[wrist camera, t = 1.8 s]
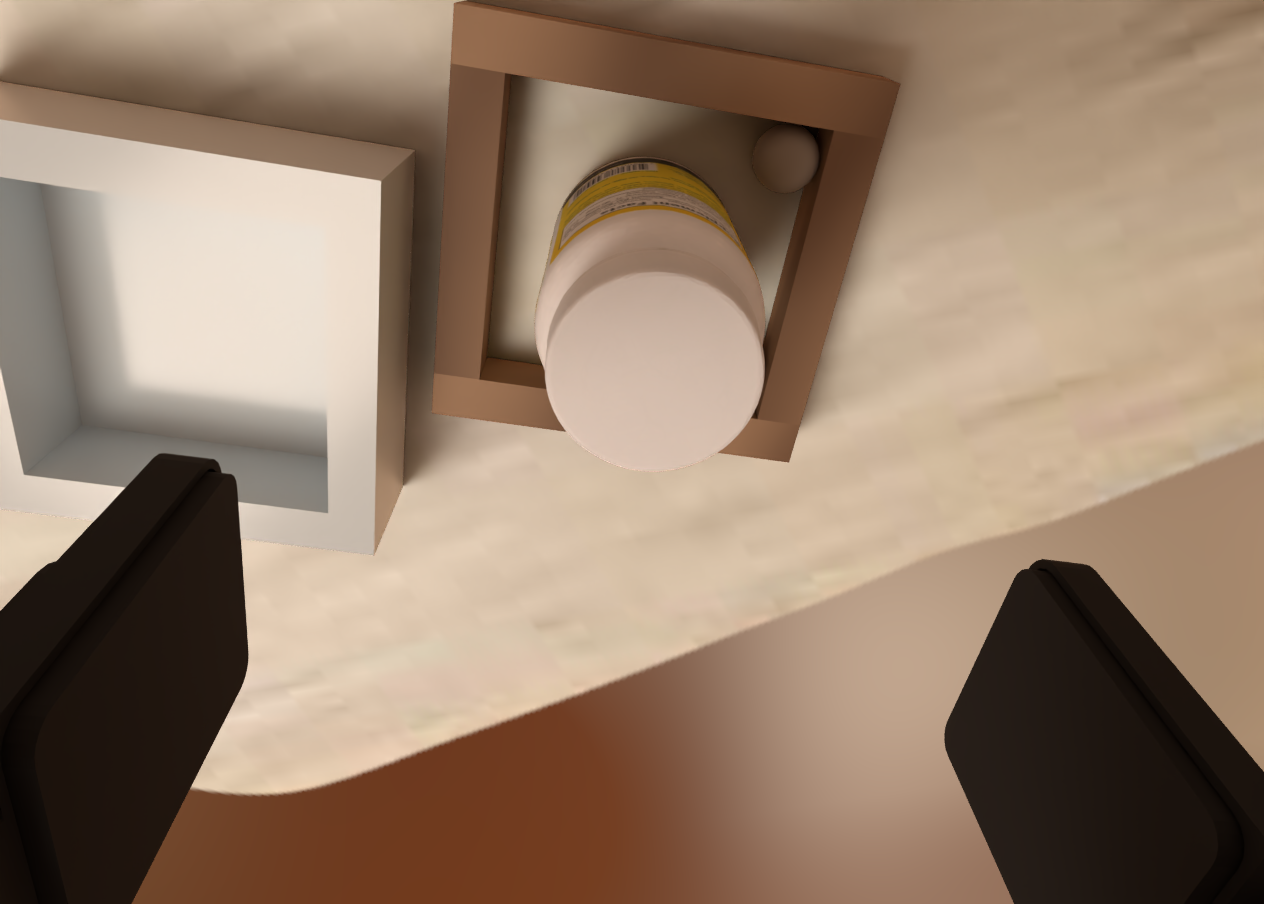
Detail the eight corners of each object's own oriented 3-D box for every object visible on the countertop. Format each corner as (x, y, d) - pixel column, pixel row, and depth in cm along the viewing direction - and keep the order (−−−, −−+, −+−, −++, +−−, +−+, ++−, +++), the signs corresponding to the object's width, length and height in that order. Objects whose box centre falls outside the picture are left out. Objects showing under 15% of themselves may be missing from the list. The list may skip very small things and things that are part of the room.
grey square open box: (415, 149, 21) (381, 181, 18) (402, 486, 26) (374, 555, 23) (-9, 79, 20) (-119, 99, 17) (60, 442, 25) (-17, 507, 22)
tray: (882, 76, 21) (904, 85, 19) (780, 436, 25) (790, 467, 24) (464, 0, 20) (451, 3, 18) (442, 389, 25) (429, 418, 23)
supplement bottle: (679, 357, 24) (705, 528, 17) (524, 287, 23) (480, 436, 16) (766, 203, 22) (837, 321, 15) (600, 117, 21) (589, 199, 14)
